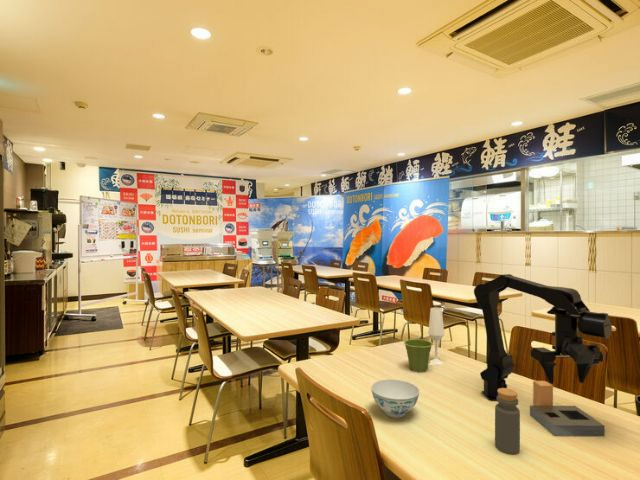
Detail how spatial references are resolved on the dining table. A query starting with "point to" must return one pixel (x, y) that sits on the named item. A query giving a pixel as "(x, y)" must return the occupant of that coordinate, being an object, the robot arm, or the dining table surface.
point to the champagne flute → (436, 330)
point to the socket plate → (566, 421)
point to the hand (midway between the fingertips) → (566, 383)
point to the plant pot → (418, 353)
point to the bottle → (507, 422)
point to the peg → (542, 393)
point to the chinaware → (395, 396)
